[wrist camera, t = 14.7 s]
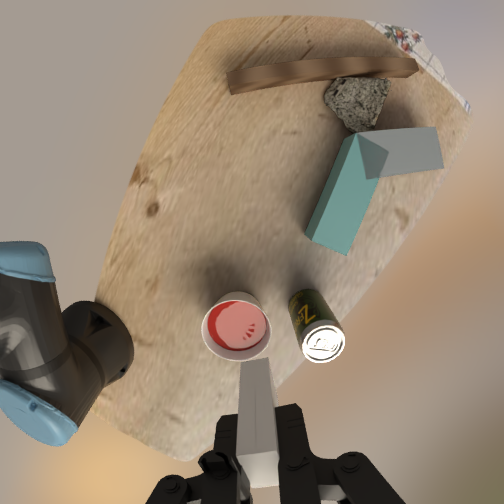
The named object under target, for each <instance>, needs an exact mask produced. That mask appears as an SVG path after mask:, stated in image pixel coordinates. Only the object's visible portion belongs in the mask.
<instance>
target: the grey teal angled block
mask: <svg viewBox="0 0 504 504" xmlns="http://www.w3.org/2000/svg"><path fill="white" fill-rule="evenodd" d="M443 168H444V165H443V159H442V154H441V149H440V144H439V139H438V135H437V130H436V127H418V128H402V129H389V130H378V131H368V132H359V133H355V134H353V135H351V136H349V137H347V138H345V139H344V140H343V143H342V145H341V148H340V150H339V153H338V155H337V158H336V160H335V163H334V165H333V167H332V170H331V172H330V175H329V177H328V180H327V182H326V184H325V187H324V189H323V192H322V194H321V196H320V199H319V201H318V203H317V206H316V208H315V210H314V213H313V215H312V217H311V220H310V222H309V224H308V227H307V229H306V231H305V233H304V235H306V236H307V237H308V238H309V239H310V240H311V241H313V242H316V243H318V244H320V245H323V246H325V247H327V248H329V249H332V250H334V251H336V252H339V253H341V254H343V255H345V256H347V253H348V251H349V249H350V247H351V245H352V242H353V240H354V238H355V236H356V233H357V231H358V229H359V227H360V224H361V222H362V220H363V217H364V215H365V212H366V210H367V208H368V205H369V203H370V200H371V198H372V195H373V193H374V190H375V188H376V185H377V183H378V180H379V178H381V177H387V176H393V175H400V174H407V173H413V172H421V171H428V170H435V169H443Z"/></svg>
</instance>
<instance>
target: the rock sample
mask: <svg viewBox="0 0 504 504" xmlns="http://www.w3.org/2000/svg"><path fill="white" fill-rule="evenodd" d="M390 86H391V82H390V81H388V80H387V78H385V79H380V78H371V77H368V78H366V77H355V78H353V77H345V78H340V77H337V79H336V80H335V81H334V82H333V84H332V85H331V86H330V88H329V89H327V91H326V93H325V94H324V100H325V101H324V103H325V104H326V106H328V107H330V108H331V109H332V110H333V111H334V112H335V113H336V115H337V117H338V118H340V119H342V120H343V121H344V123H345V126H346V128H347V129H349V130H350V131H351V132H352V133H359V132H368V131H373V129H374V127H375V124H376V122H377V120H378V117H379V114H380V111H381V109H382V106H383V104H384V101H385V99H386V96H387V94H388V91H389V88H390ZM391 91H392V90H391Z"/></svg>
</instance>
